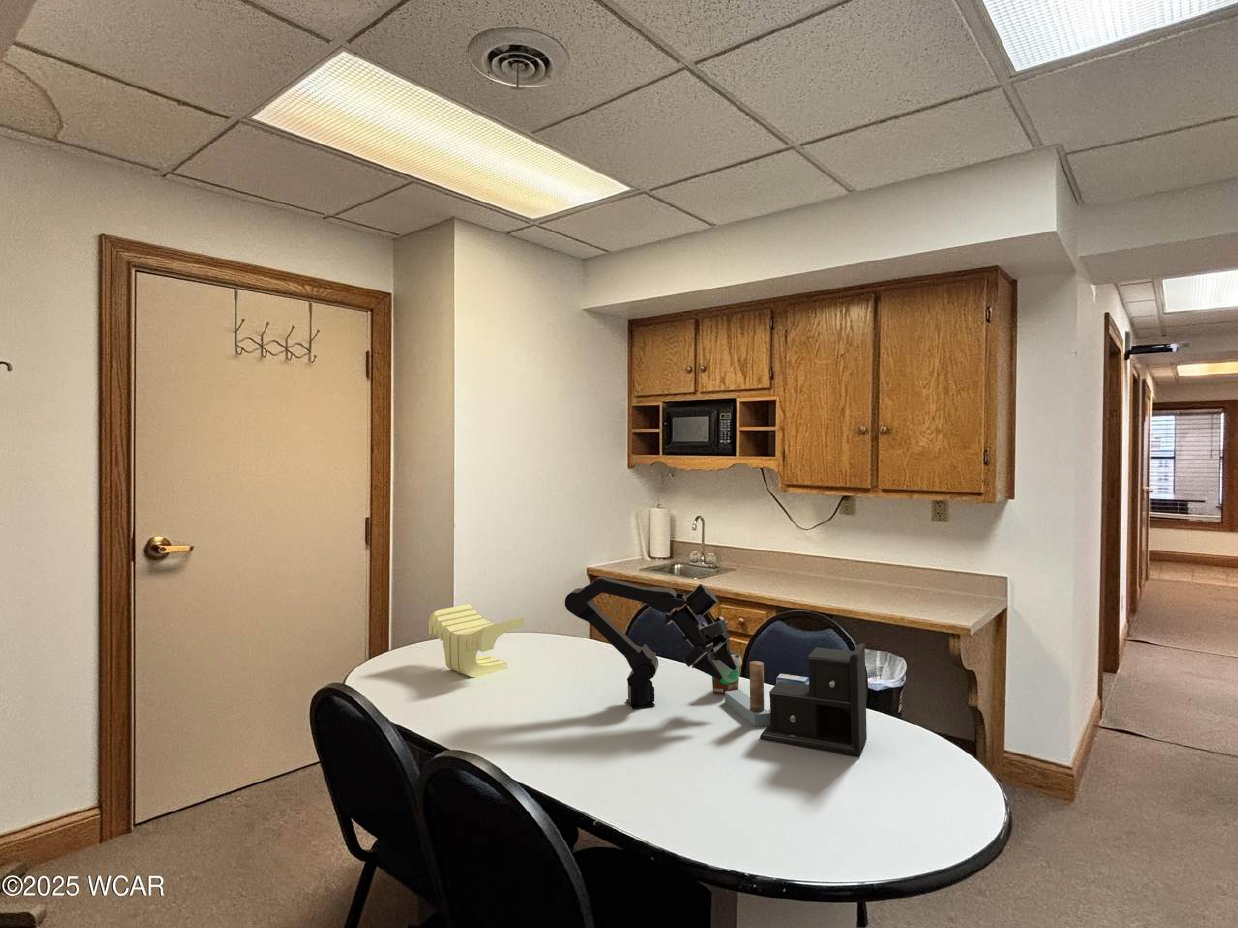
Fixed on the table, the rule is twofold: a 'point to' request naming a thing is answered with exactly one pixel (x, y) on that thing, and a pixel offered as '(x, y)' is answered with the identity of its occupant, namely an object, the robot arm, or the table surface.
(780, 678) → the medicine box
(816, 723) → the black desk organizer
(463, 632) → the slatted curved stool
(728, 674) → the food container
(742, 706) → the ridge bar
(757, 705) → the walnut dowel
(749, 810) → the table surface
